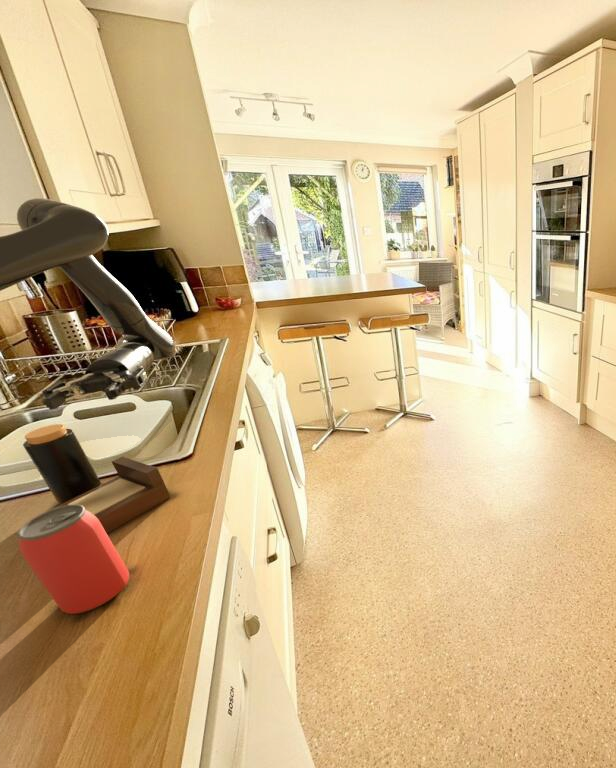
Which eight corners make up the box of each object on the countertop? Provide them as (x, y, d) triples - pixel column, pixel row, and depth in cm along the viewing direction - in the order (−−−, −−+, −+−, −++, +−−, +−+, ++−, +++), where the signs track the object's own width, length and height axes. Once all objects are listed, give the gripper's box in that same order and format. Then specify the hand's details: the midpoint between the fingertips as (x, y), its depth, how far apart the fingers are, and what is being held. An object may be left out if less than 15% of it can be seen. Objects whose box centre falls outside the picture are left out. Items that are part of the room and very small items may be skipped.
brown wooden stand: (55, 526, 64) (36, 495, 62) (136, 484, 74) (122, 456, 71) (90, 543, 61) (71, 511, 58) (171, 497, 70) (157, 467, 68)
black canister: (53, 503, 70) (11, 436, 64) (94, 484, 74) (58, 420, 69) (70, 511, 68) (29, 443, 62) (111, 491, 72) (76, 425, 67)
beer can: (135, 590, 53) (93, 517, 48) (64, 627, 48) (9, 551, 43) (127, 563, 57) (87, 494, 52) (60, 596, 52) (10, 523, 48)
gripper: (67, 359, 85) (17, 388, 71) (151, 347, 89) (119, 373, 76) (84, 391, 88) (39, 426, 74) (165, 379, 93) (136, 409, 79)
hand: (79, 399), depth 75 cm, fingers open, 8 cm apart
